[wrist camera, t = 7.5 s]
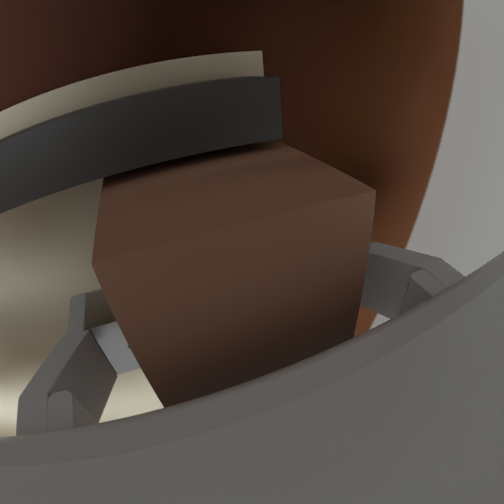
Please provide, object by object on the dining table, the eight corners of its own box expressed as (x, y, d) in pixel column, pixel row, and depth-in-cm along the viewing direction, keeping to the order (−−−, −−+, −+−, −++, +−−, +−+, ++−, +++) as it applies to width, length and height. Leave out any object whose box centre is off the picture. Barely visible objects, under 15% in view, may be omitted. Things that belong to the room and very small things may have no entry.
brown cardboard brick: (105, 166, 8) (91, 265, 4) (259, 132, 9) (376, 190, 5) (163, 343, 12) (198, 458, 8) (271, 308, 13) (335, 404, 9)
